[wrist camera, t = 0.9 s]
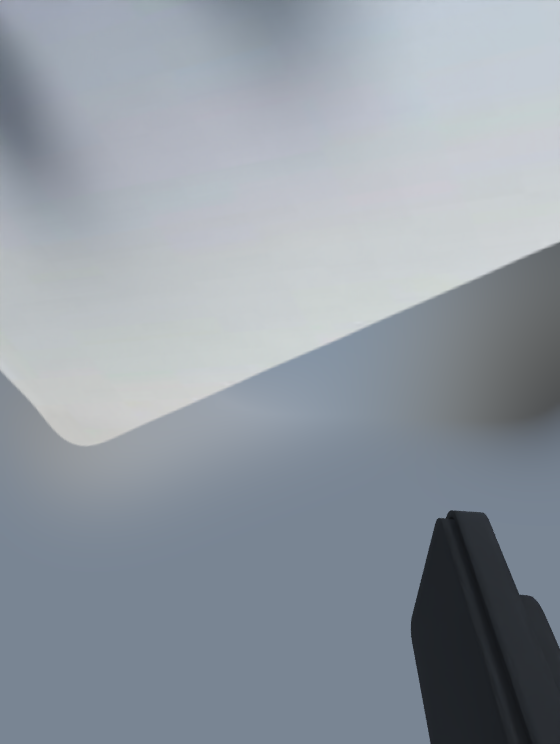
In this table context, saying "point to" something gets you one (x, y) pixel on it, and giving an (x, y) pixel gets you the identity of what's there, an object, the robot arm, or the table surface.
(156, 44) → the table surface
